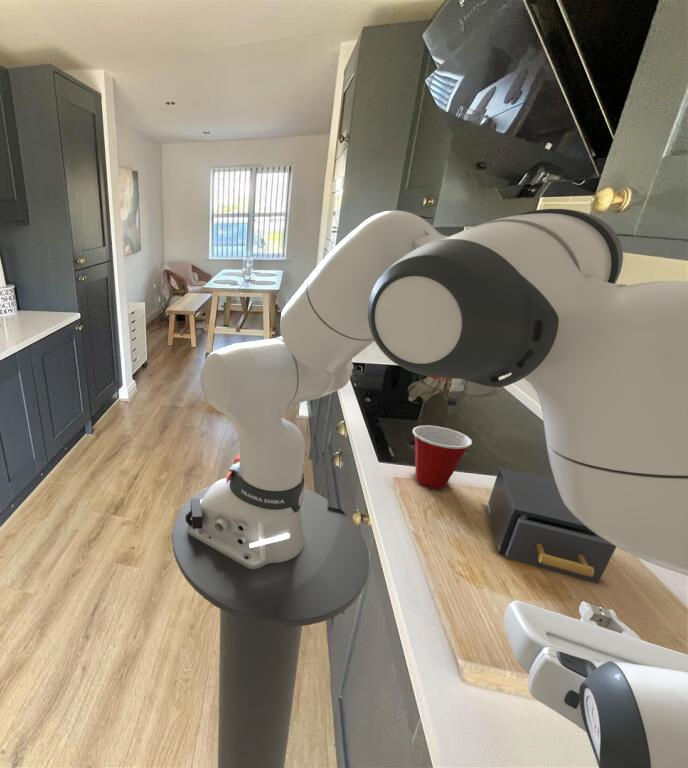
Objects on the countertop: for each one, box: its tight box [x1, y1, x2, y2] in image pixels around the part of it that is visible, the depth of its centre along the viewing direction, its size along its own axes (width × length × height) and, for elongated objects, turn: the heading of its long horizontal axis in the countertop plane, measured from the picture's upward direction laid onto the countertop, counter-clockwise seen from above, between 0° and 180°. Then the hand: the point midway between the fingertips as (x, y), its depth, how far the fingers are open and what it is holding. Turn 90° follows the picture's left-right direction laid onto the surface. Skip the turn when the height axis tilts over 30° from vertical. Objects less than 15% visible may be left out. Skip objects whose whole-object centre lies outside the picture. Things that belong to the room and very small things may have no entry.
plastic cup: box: [412, 424, 473, 490], centre depth 87 cm, size 11×11×12 cm
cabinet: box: [486, 467, 593, 555], centre depth 70 cm, size 14×13×10 cm
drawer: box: [504, 514, 617, 585], centre depth 67 cm, size 16×11×8 cm
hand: (595, 609), depth 51 cm, fingers closed
